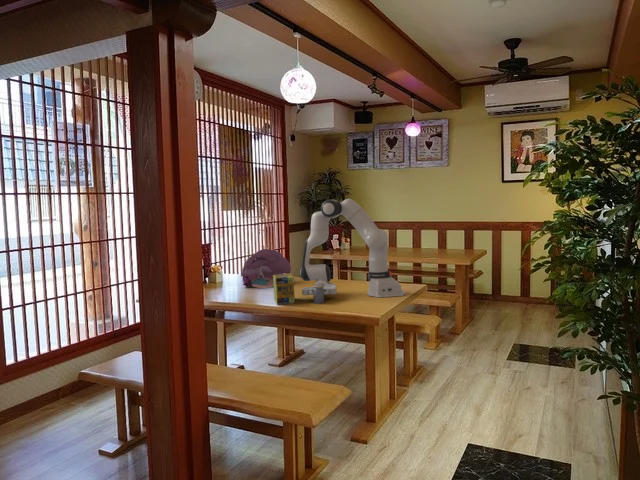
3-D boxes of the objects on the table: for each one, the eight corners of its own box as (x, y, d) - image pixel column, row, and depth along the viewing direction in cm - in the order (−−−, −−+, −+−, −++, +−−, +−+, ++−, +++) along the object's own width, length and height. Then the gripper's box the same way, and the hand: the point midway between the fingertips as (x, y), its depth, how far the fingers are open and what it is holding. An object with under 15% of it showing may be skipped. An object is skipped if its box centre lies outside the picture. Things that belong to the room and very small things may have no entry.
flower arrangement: (254, 297, 333) (253, 258, 324) (232, 288, 348) (231, 249, 340) (291, 284, 357) (292, 246, 349) (270, 275, 372) (269, 239, 364)
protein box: (277, 305, 284) (275, 278, 282) (274, 299, 299) (272, 274, 297) (295, 303, 286) (293, 276, 284) (291, 298, 301) (290, 273, 299)
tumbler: (325, 301, 287) (324, 284, 286) (324, 303, 281) (323, 286, 280) (314, 301, 288) (313, 284, 287) (313, 304, 281) (312, 286, 280)
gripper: (303, 284, 297) (300, 288, 284) (337, 282, 295) (335, 287, 282) (303, 294, 298) (300, 299, 284) (337, 293, 296) (336, 298, 282)
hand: (318, 293), depth 283 cm, fingers open, 6 cm apart
